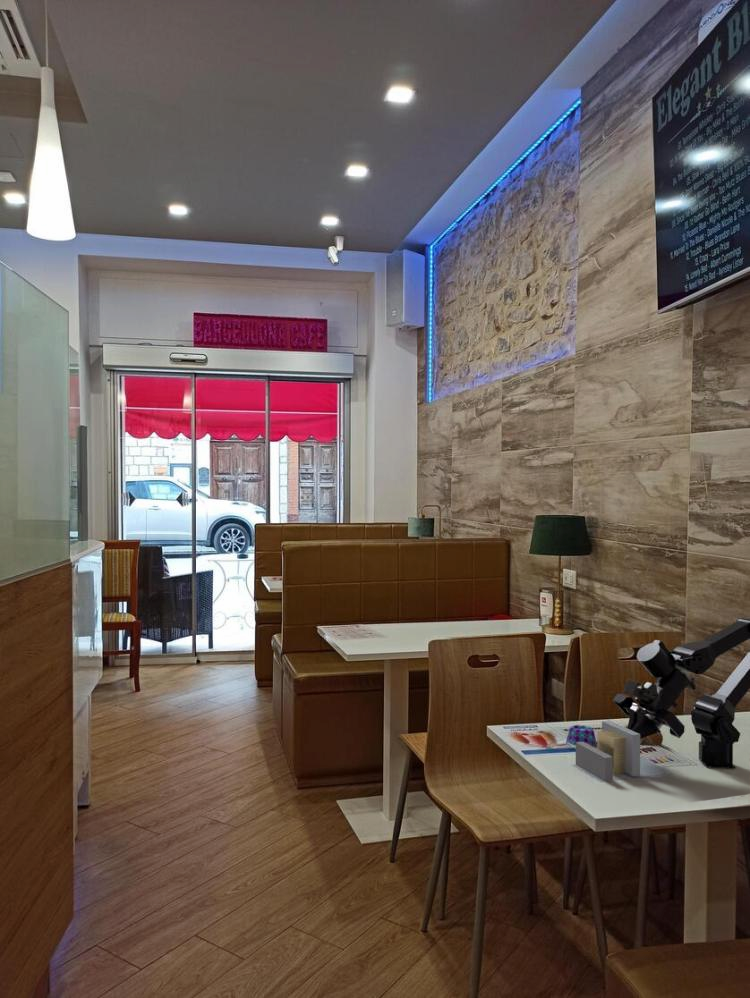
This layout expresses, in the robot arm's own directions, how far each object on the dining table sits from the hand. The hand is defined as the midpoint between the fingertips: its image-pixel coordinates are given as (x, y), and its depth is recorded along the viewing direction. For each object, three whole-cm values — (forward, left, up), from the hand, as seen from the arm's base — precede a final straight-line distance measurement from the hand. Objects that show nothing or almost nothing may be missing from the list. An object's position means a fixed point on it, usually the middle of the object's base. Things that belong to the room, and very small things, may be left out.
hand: (625, 743), depth 167 cm
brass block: (+3, +2, -6) cm, 7 cm away
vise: (+1, 0, -7) cm, 7 cm away
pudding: (+7, -19, -8) cm, 21 cm away
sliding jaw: (+1, +1, -5) cm, 6 cm away
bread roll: (-9, -24, -8) cm, 26 cm away
